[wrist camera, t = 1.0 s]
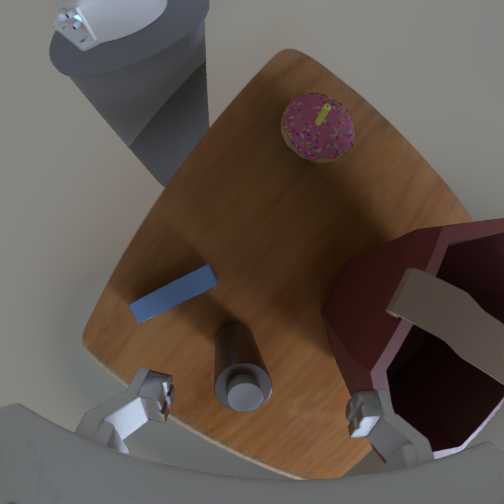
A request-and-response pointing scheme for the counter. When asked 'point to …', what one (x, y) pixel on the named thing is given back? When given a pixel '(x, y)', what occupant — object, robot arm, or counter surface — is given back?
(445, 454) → the bucket
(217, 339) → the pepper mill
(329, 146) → the cupcake
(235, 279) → the counter surface
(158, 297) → the blue stick
